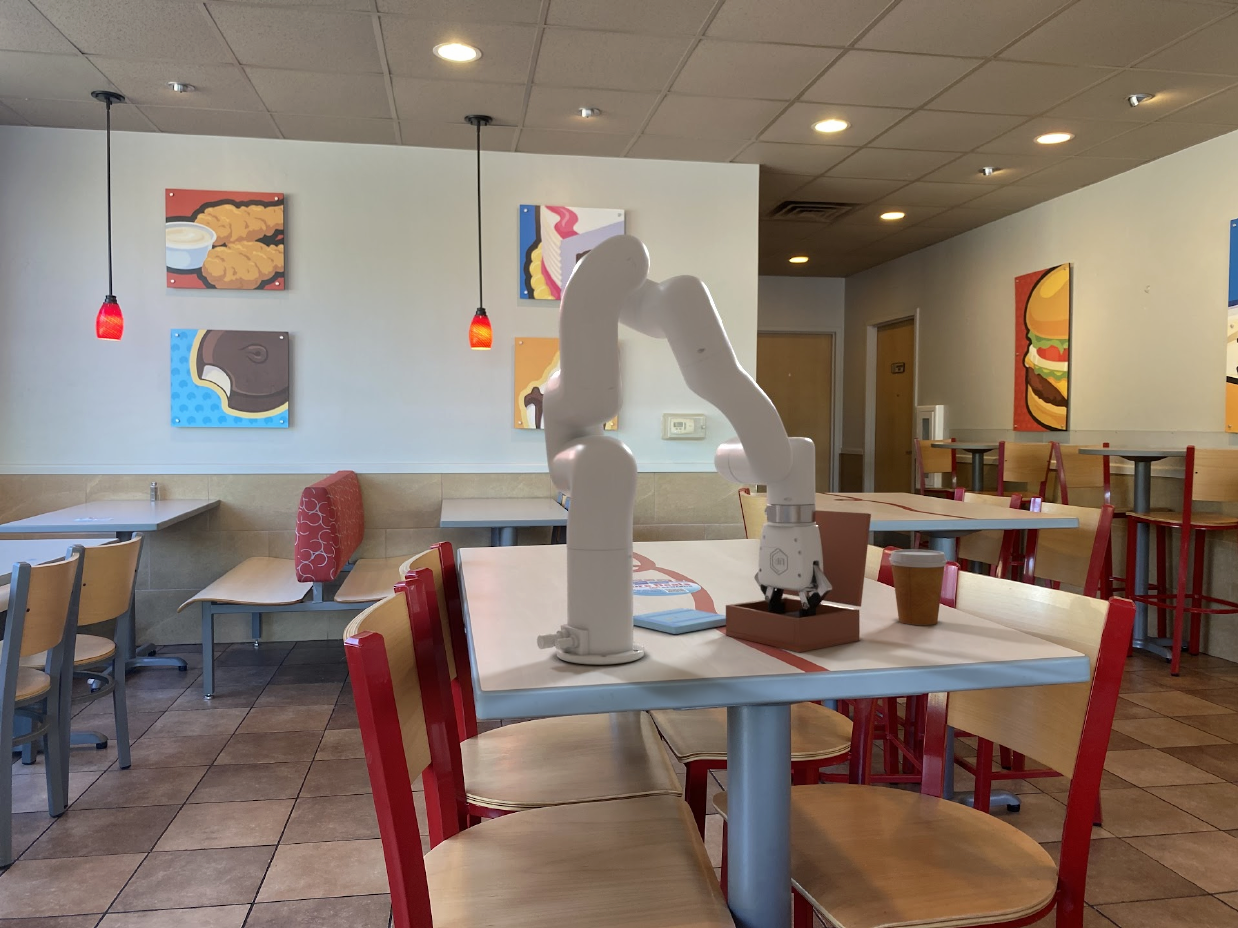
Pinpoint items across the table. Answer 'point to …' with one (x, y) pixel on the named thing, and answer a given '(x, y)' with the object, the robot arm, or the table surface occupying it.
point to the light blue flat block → (679, 620)
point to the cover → (843, 554)
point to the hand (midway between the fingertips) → (791, 629)
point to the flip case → (793, 625)
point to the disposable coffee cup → (918, 584)
